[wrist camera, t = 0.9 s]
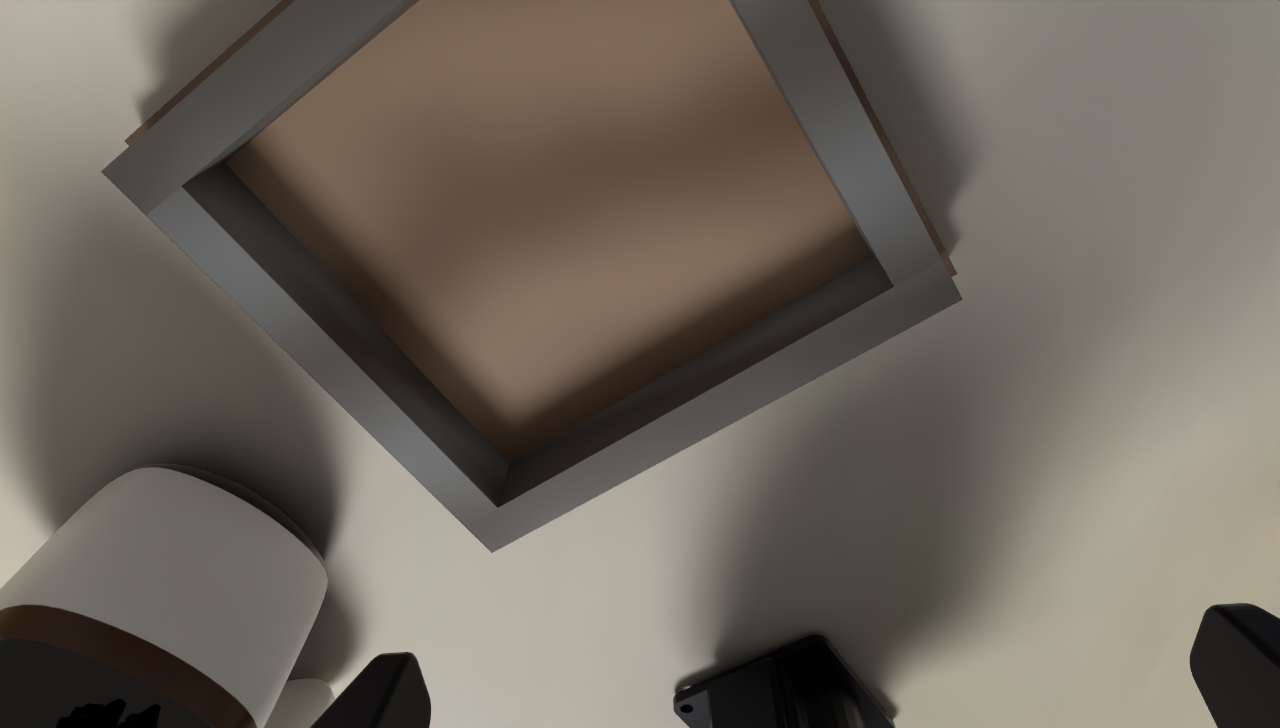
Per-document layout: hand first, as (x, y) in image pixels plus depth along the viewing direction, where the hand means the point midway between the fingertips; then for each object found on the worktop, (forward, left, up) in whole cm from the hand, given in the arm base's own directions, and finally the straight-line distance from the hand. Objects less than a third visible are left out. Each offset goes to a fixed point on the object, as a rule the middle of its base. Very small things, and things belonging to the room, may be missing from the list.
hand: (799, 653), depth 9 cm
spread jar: (-2, +21, -14) cm, 25 cm away
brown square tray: (+3, +3, -13) cm, 14 cm away
